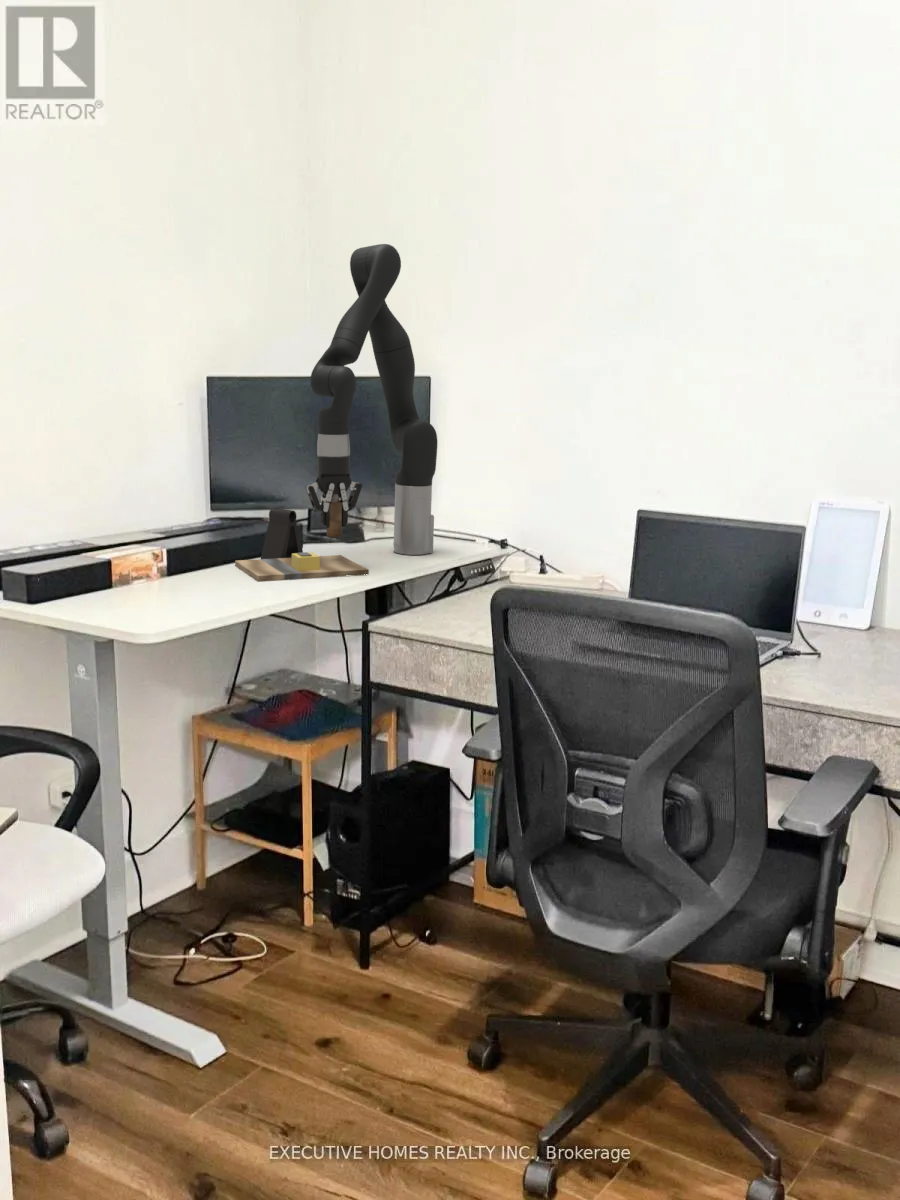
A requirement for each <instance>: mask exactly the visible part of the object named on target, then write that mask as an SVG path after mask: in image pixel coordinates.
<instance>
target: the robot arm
mask: <svg viewBox="0 0 900 1200" xmlns="http://www.w3.org/2000/svg"><path fill="white" fill-rule="evenodd" d="M401 269H402V261H401V256H400V253H399V252H398V249H396V248H395V247H394V246H393V245H391V244H387V243H380V244H375V245H369V246H363V247H359V248H357V249H355V250H354V251H353V252H352V253H351V256H350V260H349V270H350V275H351V278H352V281H353V285H354V287H355V290H356V294H357V296H358V297H357V298H356V300H355V301H354V302H353V303H352V305H351V306H350V307H349V308H348V309H347V310H346V312H345V313H343V314H344V315H343V316H342V318H341V319H340V321H339V323H338V324H337V327H336V329H335V332H334V335H333V337H332V340H331V342H330V344H329V347H328V348H327V349H326V350H325V352H324V353H323V354H322V355H321V357H320V358H319V360H318V361H317V362H316V363H315V365H314V367H313V369H312V371H311V374H310V379H309V381H310V382H309V383H310V388H311V390H312V392H313V393H314V394H315V395H316V396H319V397H326V398H327V397H330V398H331V397H332V398H333V399H332V403H331V404H330V406H328V407H326V406H325V407H323V408H321V409H319V411H318V414H317V419H318V420H317V426H318V427H317V431H318V432H317V433H318V434H317V442H316V443H317V445H316V446H317V447H316V448H317V449H316V451H317V454H316V455H317V456H316V457H317V458H316V459H317V462H316V463H317V478H316V480H315V482H314V483H311V484H306V485H305V491H306V493H307V496H308V498H309V502H310V503H311V506H312V508H313V509H315V510H317V511H319V512H320V524H321V526H322V527H323V528H324V529H327V528H329V512H328V508H329V503H330V502H331V498H332V497H333V496H334V494H338V497H339V501H341V502H342V528H343V527H346V526H347V524H348V522H349V521H348V520H349V510H350V509H353V508H355V507H356V505H357V502H358V499H359V497H360V494H361V491H362V488H363V484H362V483H360V482H357V481H356V482H355V481H353V480H352V478H351V475H350V474H351V445H350V444H351V442H350V435H349V433H350V431H349V430H350V429H349V427H350V424H349V422H350V420H349V419H350V412H351V409H352V404H353V401H354V400H353V399H354V396H355V394H356V393H355V392H356V390H357V389H356V388H357V379H356V376H355V373H354V371H353V370H352V369H351V368H350V367H348V365H351V364H354V363H356V362H357V360H358V359H359V356H360V354H361V352H362V349H363V346H364V344H365V342H366V341H365V340H366V338H367V336H368V333H369V337H370V341H371V347H372V350H373V356H374V360H375V364H376V368H377V372H378V375H379V378H380V383H381V387H382V391H383V395H384V398H385V403H386V407H387V415H388V422H389V430H390V437H391V440H392V444H393V446H394V448H395V449H396V450H397V451H398V452H399V453H400V454H402V459H401V466H400V468H399V470H398V471H397V472H396V473H395V483H394V485H395V486H394V517H393V519H394V521H393V522H394V523H393V552H394V553H396V554H401V555H411V556H412V555H414V556H416V555H417V556H418V555H419V556H420V555H427V554H431V553H434V528H435V516H434V514H432V500H433V499H432V496H433V492H432V491H433V479H434V476H435V474H436V469H437V456H438V455H437V454H438V435H437V434H438V433H437V431H436V429H435V427H434V425H432V424H431V423H430V422H428V421H426V420H421V419H420V417H419V414H418V410H417V407H416V403H415V399H414V384H415V376H416V375H415V374H416V373H415V372H416V366H415V365H416V364H415V363H416V362H415V358H414V357H415V356H414V352H413V348H412V344H411V339H410V337H409V334H408V333H407V331H406V329H405V328H404V327H403V325H402V324H401V323H400V321H399V320H398V319H397V318H396V316H395V315H394V313H393V312H392V311H391V310H390V308H389V306H388V304H387V301H386V299H387V297H388V295H389V293H390V292H391V290H392V288H393V287H394V285H395V284H396V282H397V280H398V278H399V275H400V273H401ZM318 489H319V490H320V492H321V496H320V500H319V498H318V495H317V492H318ZM349 489H350V490H351V491H350V493H349V496H347V492H348V490H349Z"/></svg>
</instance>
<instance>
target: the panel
mask: <svg viewBox="0 0 900 1200" xmlns="http://www.w3.org/2000/svg"><path fill="white" fill-rule="evenodd" d="M234 562H235V563H234V565H235V566H234V567H237V568H238V569H239V570H241V571H242V572H244V573H245V574H246V575H248V576H249V577H251V578H252V579H254V580H255V581H256V582H266V581H267V582H270V581H271V582H273V581H285V580H288V579H289V580H302V579H303V580H305V579H317V578H318V579H319V578H322V579H323V578H335V577H338V576H339V577H347V576H346V575H355V576H367V575H366V574H369V573H370V572H369V570H370V569H368V568H367V567H365V566H363V565H361V564H359V563H357V562H355V561H353V560H352V559H349V558H347V557H345V556H344V555H341V554H337V555H335V554H333V555H320V570H303V571H298V570H296V569H295V568H293V567H292V558H275V559H261V558H258V559H256V558H255V559H243V560H242V559H240V560H239V559H238V560H235V561H234ZM364 574H365V575H364ZM304 578H305V579H304Z"/></svg>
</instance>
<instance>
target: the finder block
mask: <svg viewBox="0 0 900 1200" xmlns="http://www.w3.org/2000/svg"><path fill="white" fill-rule="evenodd" d="M320 556H321V555H320ZM320 556H319V554H316V553H314V552H307V551H303V552H302V553H292V567H293V568H295V569H296V570H298V571H303V570H320Z"/></svg>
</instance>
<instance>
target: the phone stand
mask: <svg viewBox="0 0 900 1200" xmlns="http://www.w3.org/2000/svg"><path fill="white" fill-rule="evenodd" d="M268 517H269V518H268V520H269V521H268V525H267V529H266V534H265V537H264V542H263V547H262V550H261V554H260V555H261V556H260V559H275V558H292V553H302V552H304V550H303V546H302V542H301V537H300V534H299V533H300V532H299V530H298V525H297V513H296V511H295V510H292V509H291V510H290V509H286V508H285V509H283V508H276V507H274V508H270V509H269V513H268Z"/></svg>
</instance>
